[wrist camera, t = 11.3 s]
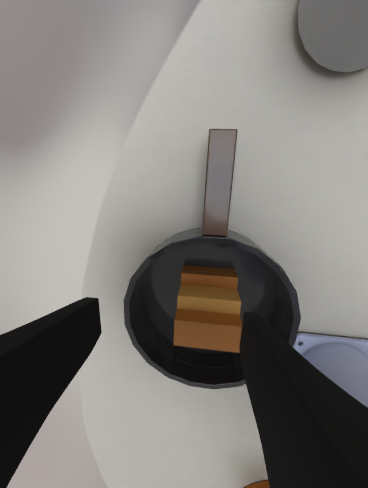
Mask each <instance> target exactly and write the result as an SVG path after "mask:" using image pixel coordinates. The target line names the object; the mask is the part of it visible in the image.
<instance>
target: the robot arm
mask: <svg viewBox="0 0 368 488" xmlns="http://www.w3.org/2000/svg"><path fill="white" fill-rule="evenodd" d="M100 335H101V323H100V312H99V301H98V298H88V297H86V298H84V299H81V300H79V301H76V302H74V303H72V304H70V305H68V306H65V307H63V308H61V309H59V310H57V311H55V312H52V313H50V314H48V315H46V316H44V317H41V318H39V319H37V320H35V321H32V322H30V323H28V324H25V325H23V326H21V327H19V328H16V329H14V330H12V331H9V332H7V333H4V334H2V335H0V488H6V487H7V485H8V484H9V482H10V480H11V478H12V476H13V475H14V473H15V471H16V469H17V468H18V466H19V464H20V462H21V460H22V459H23V457H24V455H25V453H26V452H27V450H28V448H29V446H30V444H31V443H32V441H33V440H34V438H35V436H36V434H37V433H38V431H39V429H40V428H41V426H42V424H43V423H44V421H45V419H46V418H47V416H48V414H49V413H50V411H51V410H52V408H53V407H54V405H55V404H56V402H57V401H58V399H59V398H60V396H61V395H62V394H63V392H64V390H65V389H66V388H67V386H68V385H69V384H70V382H71V381H72V379H73V378H74V376H75V375H76V373H77V372H78V371H79V369H80V368H81V366H82V365H83V363H84V362H85V361H86V359H87V358H88V356H89V355H90V353H91V352H92V350H93V348H94V346H95V344H96V342H97V340H98V338H99V337H100ZM298 342H300V343H298ZM239 349H240V356H241V363H242V369H243V374H244V378H245V381H246V385H247V389H248V393H249V397H250V401H251V404H252V408H253V412H254V416H255V419H256V423H257V427H258V431H259V435H260V439H261V444H262V448H263V453H264V459H265V464H266V470H267V475H268V480H269V486H270V488H368V340H366V339H356V338H346V337H337V336H327V335H317V334H308V333H297V337H296V341H295V343H294V345H293V346H291V345H290V344H289V343H288V342H287V341H286V340H285V339H284V338H283V337H282V336H281V335H280V334H279V333H278V332H277V331H276V330H275V329H274V328H273V327H272V326H271V325H270V324H269V323H268V322H267V321H266V320H265V319H264V318H263V317H262V316H261V315H259V314H258V313H256V312H245V311H244V316H243V324H242V331H241V338H240V346H239Z"/></svg>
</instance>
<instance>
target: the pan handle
mask: <svg viewBox="0 0 368 488" xmlns="http://www.w3.org/2000/svg"><path fill="white" fill-rule="evenodd" d="M236 141H237V129H210V130H209V140H208V155H207V170H206V185H205V199H204V214H203V229H202V234H203V235H212V236H227V229H228V219H229V209H230V200H231V190H232V180H233V170H234V160H235V151H236Z"/></svg>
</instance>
